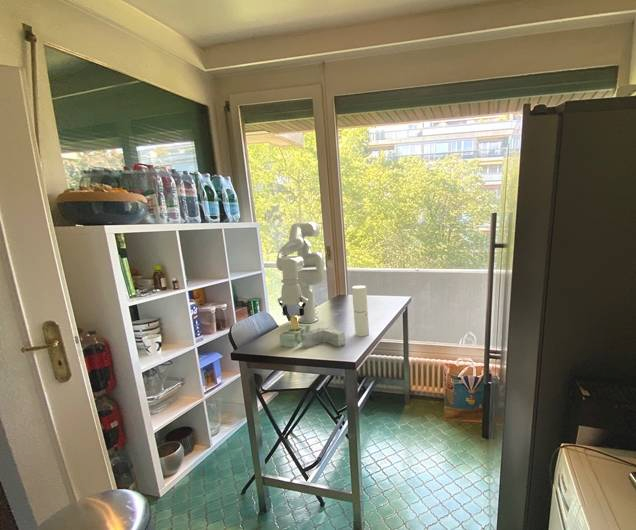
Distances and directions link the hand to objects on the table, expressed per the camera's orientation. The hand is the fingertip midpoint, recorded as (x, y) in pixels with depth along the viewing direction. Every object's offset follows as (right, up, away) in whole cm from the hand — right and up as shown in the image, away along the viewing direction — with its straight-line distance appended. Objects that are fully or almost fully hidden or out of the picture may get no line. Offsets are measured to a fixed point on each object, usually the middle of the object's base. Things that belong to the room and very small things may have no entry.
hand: (293, 315), depth 169 cm
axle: (+1, -13, +2) cm, 14 cm away
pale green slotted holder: (+1, -13, +2) cm, 14 cm away
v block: (+15, -13, -5) cm, 21 cm away
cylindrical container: (+36, -11, +4) cm, 37 cm away
